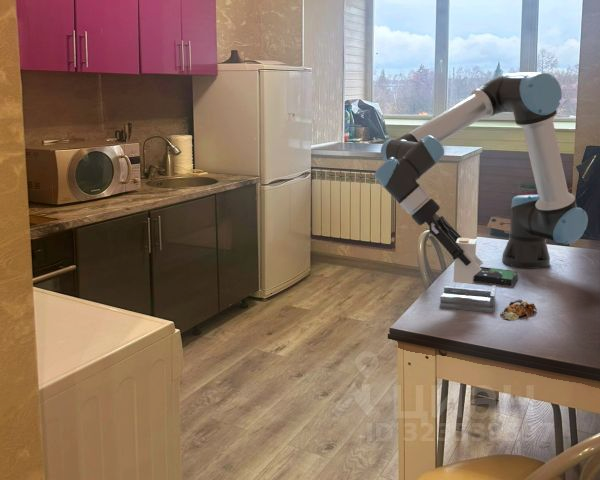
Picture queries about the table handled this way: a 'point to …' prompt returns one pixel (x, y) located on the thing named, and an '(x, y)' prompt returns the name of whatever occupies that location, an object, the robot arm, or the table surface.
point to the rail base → (468, 299)
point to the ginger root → (517, 310)
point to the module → (459, 269)
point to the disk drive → (496, 276)
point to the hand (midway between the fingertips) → (478, 269)
